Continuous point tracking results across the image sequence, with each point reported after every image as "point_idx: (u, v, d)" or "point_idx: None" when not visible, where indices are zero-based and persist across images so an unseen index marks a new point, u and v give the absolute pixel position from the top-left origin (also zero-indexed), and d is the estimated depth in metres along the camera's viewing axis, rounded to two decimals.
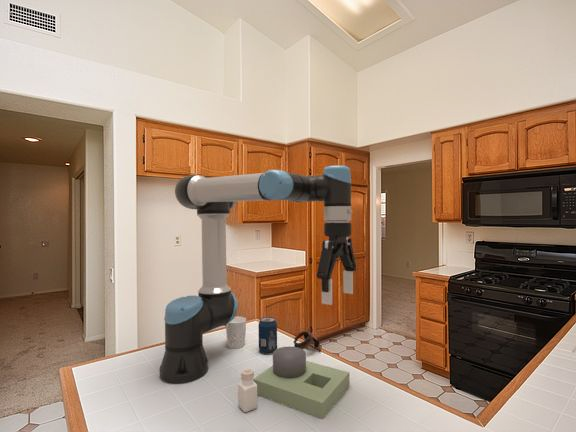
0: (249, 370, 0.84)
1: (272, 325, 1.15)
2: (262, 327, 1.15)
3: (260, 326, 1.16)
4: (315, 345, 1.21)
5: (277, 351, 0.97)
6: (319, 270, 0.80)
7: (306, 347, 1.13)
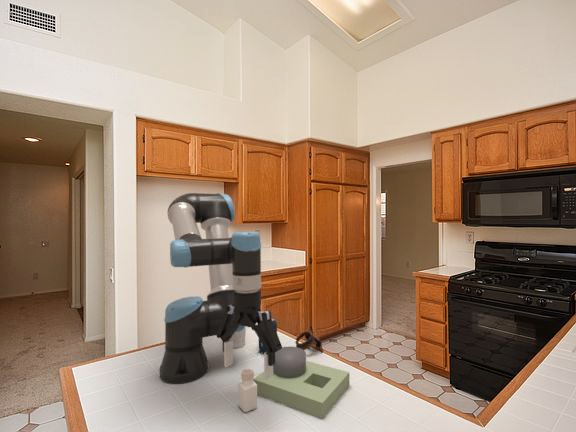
0: (250, 370, 0.84)
1: None
2: None
3: None
4: (317, 345, 1.21)
5: (277, 351, 0.97)
6: None
7: (308, 347, 1.13)
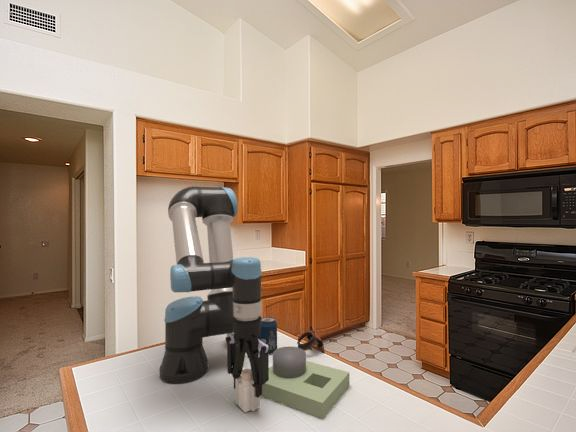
0: (249, 370, 0.84)
1: (272, 325, 1.15)
2: (262, 327, 1.15)
3: None
4: (318, 346, 1.20)
5: (277, 351, 0.97)
6: None
7: (310, 348, 1.13)
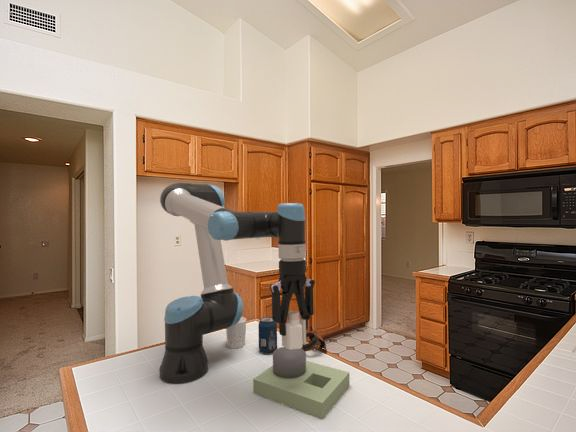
0: (293, 311, 0.87)
1: (272, 325, 1.15)
2: (262, 327, 1.15)
3: (260, 326, 1.16)
4: (320, 346, 1.20)
5: (277, 351, 0.97)
6: (273, 315, 0.84)
7: (312, 348, 1.12)
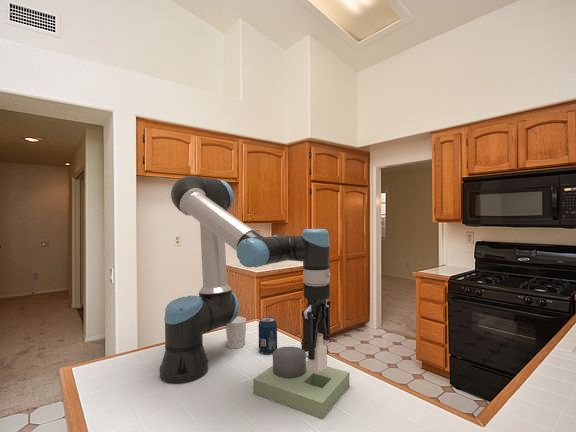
0: None
1: (272, 325, 1.15)
2: (262, 327, 1.15)
3: (260, 326, 1.16)
4: None
5: (277, 351, 0.97)
6: (304, 341, 0.84)
7: None
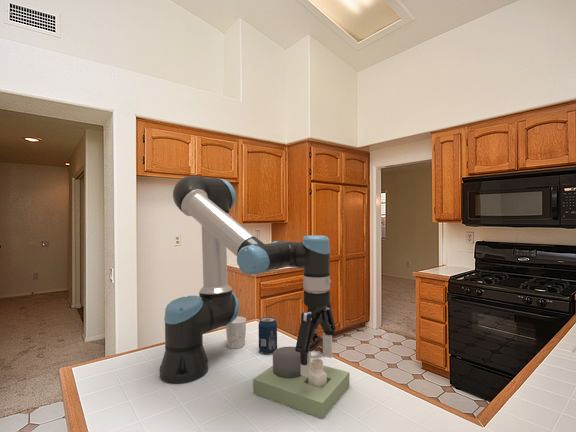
0: (315, 360, 0.90)
1: (272, 325, 1.15)
2: (262, 327, 1.15)
3: (260, 326, 1.16)
4: None
5: (277, 351, 0.97)
6: (298, 344, 0.81)
7: (316, 349, 1.12)
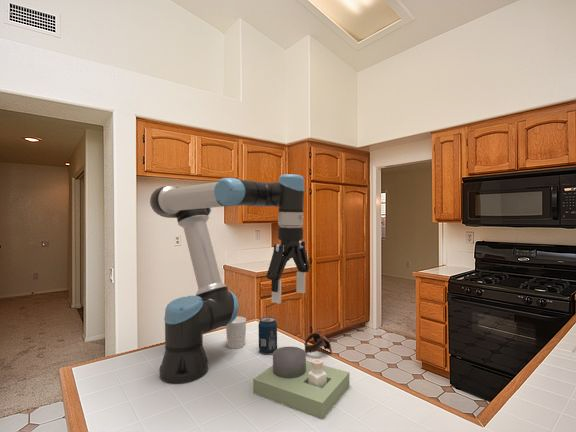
0: (315, 360, 0.90)
1: (272, 325, 1.15)
2: (262, 327, 1.15)
3: (260, 326, 1.16)
4: (325, 347, 1.19)
5: (277, 351, 0.97)
6: (269, 271, 0.87)
7: (318, 349, 1.11)
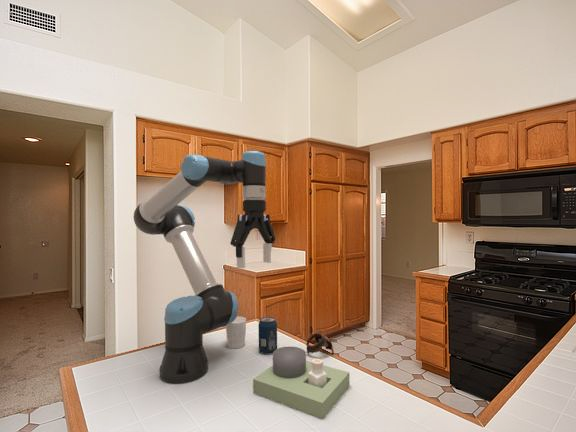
0: (316, 360, 0.90)
1: (272, 325, 1.15)
2: (262, 327, 1.15)
3: (260, 326, 1.16)
4: (327, 347, 1.19)
5: (277, 351, 0.97)
6: (233, 238, 0.94)
7: (320, 349, 1.11)
